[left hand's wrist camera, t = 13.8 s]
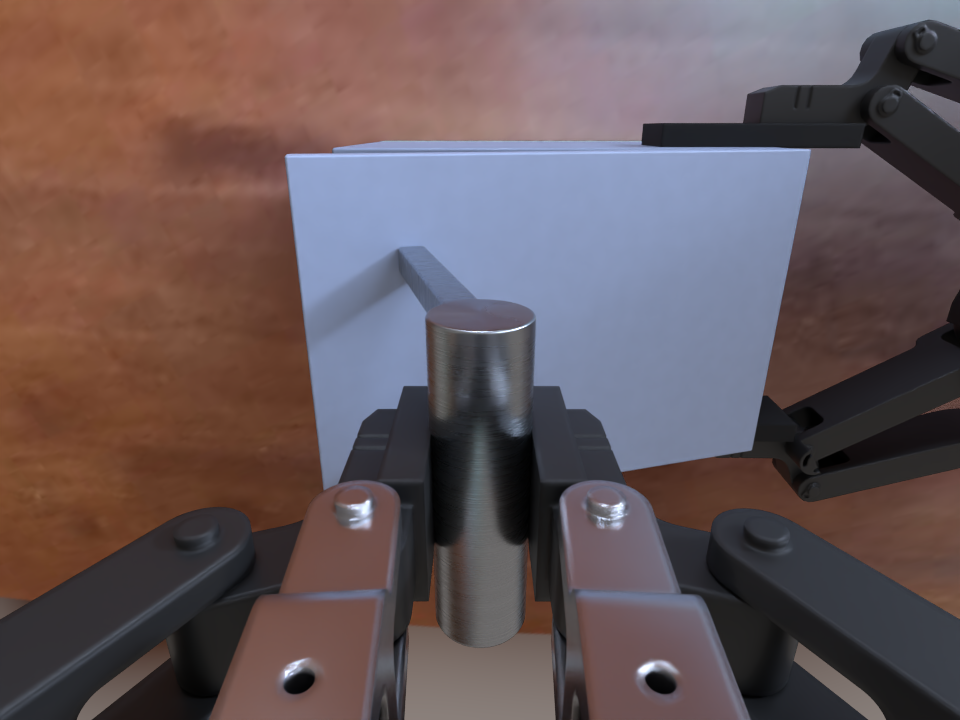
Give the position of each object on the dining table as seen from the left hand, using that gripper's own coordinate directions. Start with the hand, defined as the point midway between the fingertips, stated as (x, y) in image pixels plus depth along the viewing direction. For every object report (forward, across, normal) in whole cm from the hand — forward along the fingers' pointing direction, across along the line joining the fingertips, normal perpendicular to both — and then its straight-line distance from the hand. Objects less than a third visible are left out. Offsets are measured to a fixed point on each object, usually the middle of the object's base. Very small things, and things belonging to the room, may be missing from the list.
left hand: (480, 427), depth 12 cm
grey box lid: (+7, -2, 0) cm, 7 cm away
